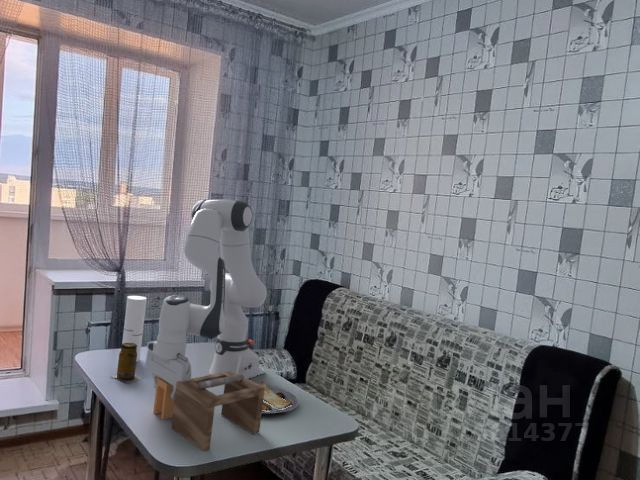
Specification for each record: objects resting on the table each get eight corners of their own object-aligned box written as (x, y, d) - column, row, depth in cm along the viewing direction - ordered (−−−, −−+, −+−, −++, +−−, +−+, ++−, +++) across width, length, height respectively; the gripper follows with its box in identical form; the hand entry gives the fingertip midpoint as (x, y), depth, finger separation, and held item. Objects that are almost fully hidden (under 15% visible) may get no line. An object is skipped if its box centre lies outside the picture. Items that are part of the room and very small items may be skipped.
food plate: (214, 392, 176) (216, 382, 176) (270, 385, 190) (272, 377, 190) (249, 424, 156) (251, 413, 156) (308, 414, 171) (310, 404, 170)
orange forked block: (164, 410, 157) (168, 376, 156) (174, 416, 153) (178, 381, 153) (153, 412, 154) (157, 378, 153) (162, 419, 150) (166, 384, 150)
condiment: (126, 372, 184) (130, 340, 184) (143, 378, 181) (147, 346, 180) (110, 377, 178) (114, 344, 177) (127, 383, 174) (131, 350, 173)
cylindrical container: (123, 356, 201) (130, 295, 200) (141, 357, 202) (148, 297, 200) (118, 361, 194) (125, 298, 192) (137, 363, 195) (144, 300, 193)
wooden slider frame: (226, 413, 161) (232, 364, 160) (259, 432, 150) (265, 381, 149) (171, 428, 146) (177, 374, 145) (203, 451, 135) (210, 393, 134)
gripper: (199, 357, 148) (193, 403, 149) (162, 339, 162) (157, 381, 162) (180, 360, 143) (174, 407, 144) (144, 341, 157) (139, 384, 158)
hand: (165, 393), depth 153 cm, fingers open, 8 cm apart
